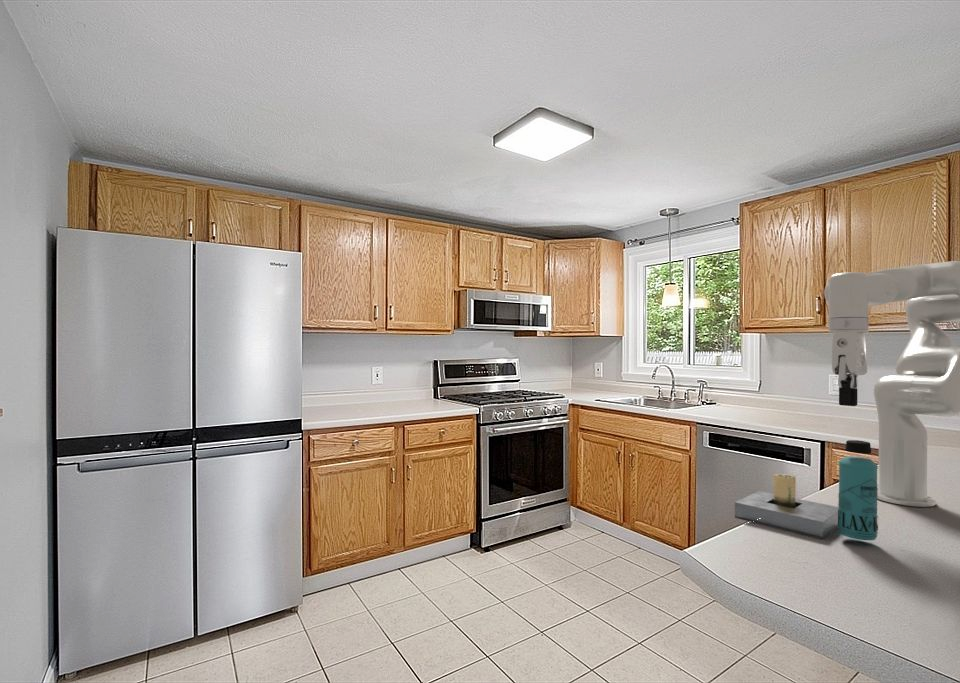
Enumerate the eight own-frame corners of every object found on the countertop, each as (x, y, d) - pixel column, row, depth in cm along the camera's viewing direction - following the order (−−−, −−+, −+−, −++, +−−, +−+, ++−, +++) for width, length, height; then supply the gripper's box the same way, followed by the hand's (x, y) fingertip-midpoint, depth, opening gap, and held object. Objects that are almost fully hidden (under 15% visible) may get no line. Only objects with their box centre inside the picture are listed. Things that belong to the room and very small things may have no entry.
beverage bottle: (829, 538, 103) (829, 438, 103) (852, 534, 105) (852, 437, 106) (863, 550, 97) (863, 444, 97) (886, 546, 99) (886, 442, 99)
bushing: (798, 516, 115) (798, 476, 115) (791, 520, 112) (791, 479, 112) (777, 512, 118) (777, 472, 118) (770, 515, 115) (770, 475, 115)
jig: (758, 505, 124) (758, 490, 125) (842, 523, 112) (842, 507, 112) (734, 517, 115) (734, 502, 115) (822, 539, 102) (822, 521, 102)
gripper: (859, 324, 111) (859, 409, 111) (875, 326, 121) (875, 404, 121) (819, 325, 117) (819, 406, 117) (838, 327, 127) (838, 402, 126)
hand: (848, 405), depth 119 cm, fingers closed
